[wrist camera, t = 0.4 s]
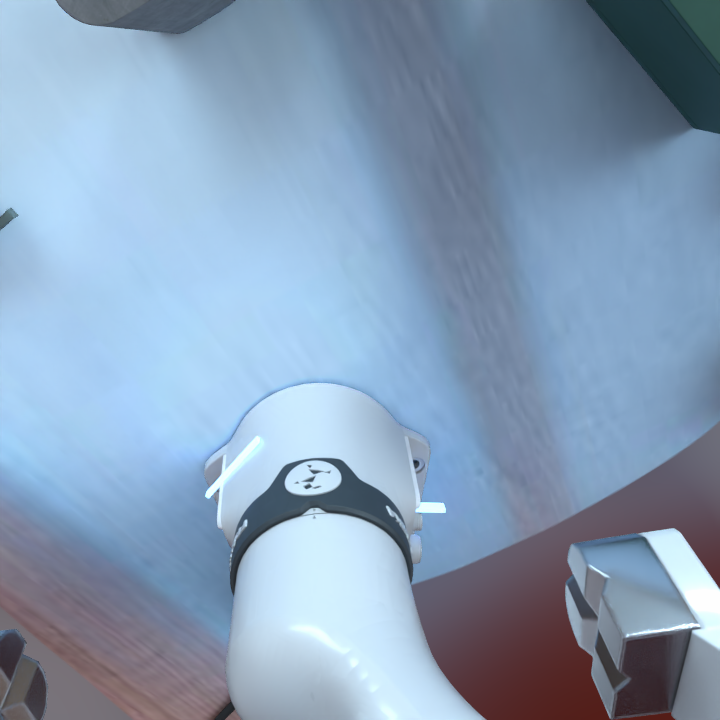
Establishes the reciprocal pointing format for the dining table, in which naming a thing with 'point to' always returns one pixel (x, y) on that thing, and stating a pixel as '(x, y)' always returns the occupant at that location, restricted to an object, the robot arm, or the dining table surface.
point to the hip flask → (144, 13)
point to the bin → (667, 57)
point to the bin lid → (700, 24)
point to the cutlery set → (7, 217)
